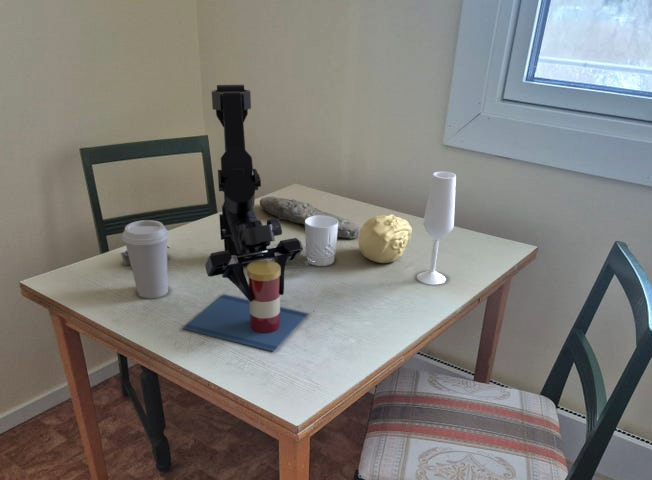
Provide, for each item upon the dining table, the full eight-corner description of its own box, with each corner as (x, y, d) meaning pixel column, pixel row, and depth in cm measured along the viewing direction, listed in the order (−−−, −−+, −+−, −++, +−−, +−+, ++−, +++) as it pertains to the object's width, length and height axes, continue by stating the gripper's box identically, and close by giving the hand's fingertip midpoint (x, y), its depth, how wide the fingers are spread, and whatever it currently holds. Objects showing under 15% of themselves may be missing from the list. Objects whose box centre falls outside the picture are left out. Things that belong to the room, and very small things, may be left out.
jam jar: (243, 329, 127) (240, 271, 120) (258, 315, 132) (256, 257, 125) (272, 336, 125) (271, 277, 118) (286, 321, 130) (286, 264, 123)
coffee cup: (182, 286, 144) (176, 222, 136) (161, 304, 136) (152, 238, 128) (145, 279, 146) (136, 216, 138) (122, 297, 139) (111, 232, 131)
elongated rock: (344, 249, 165) (368, 240, 172) (347, 229, 162) (370, 221, 169) (249, 209, 183) (274, 202, 190) (250, 191, 180) (275, 185, 187)
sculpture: (383, 272, 151) (387, 228, 145) (348, 256, 158) (350, 214, 152) (415, 259, 157) (420, 217, 151) (379, 244, 165) (383, 203, 159)
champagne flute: (440, 287, 145) (455, 181, 131) (412, 280, 147) (423, 176, 134) (450, 275, 149) (465, 173, 136) (422, 269, 152) (434, 168, 139)
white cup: (333, 268, 152) (335, 228, 147) (301, 265, 153) (301, 225, 148) (339, 255, 159) (340, 216, 153) (307, 252, 160) (308, 214, 154)
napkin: (183, 329, 128) (183, 327, 128) (223, 295, 140) (223, 294, 140) (273, 351, 121) (273, 350, 121) (307, 314, 133) (307, 313, 133)
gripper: (205, 212, 115) (230, 293, 113) (299, 197, 122) (324, 273, 120) (195, 238, 125) (218, 312, 123) (282, 223, 132) (305, 293, 130)
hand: (267, 297), depth 124 cm, fingers closed on jam jar, 6 cm apart
